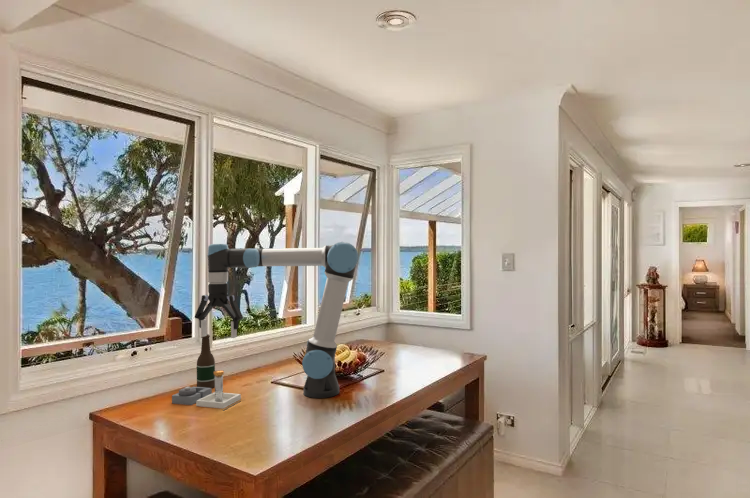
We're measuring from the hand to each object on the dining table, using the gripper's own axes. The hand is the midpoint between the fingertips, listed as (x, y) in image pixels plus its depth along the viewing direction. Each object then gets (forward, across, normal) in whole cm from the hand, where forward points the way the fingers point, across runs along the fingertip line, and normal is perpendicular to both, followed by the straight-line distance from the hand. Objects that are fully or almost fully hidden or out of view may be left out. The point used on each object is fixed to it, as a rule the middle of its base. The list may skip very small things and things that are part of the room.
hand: (218, 337), depth 191 cm
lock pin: (+26, 0, 0) cm, 26 cm away
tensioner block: (+27, +13, -1) cm, 30 cm away
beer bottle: (+27, +18, -17) cm, 37 cm away
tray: (+27, 0, 0) cm, 27 cm away
